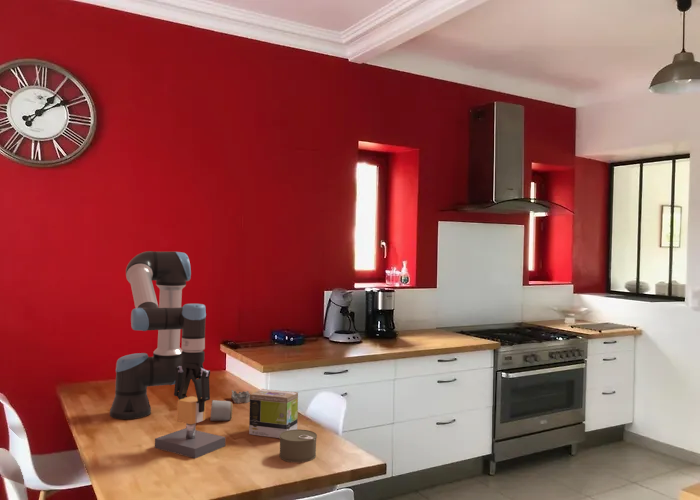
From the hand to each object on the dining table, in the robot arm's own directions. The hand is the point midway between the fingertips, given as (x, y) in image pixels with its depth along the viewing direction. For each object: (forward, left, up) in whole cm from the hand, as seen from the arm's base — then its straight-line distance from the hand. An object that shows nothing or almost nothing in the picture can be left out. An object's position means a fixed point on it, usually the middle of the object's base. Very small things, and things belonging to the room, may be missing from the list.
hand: (191, 419), depth 191 cm
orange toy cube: (0, 0, 0) cm, 0 cm away
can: (+34, +13, -9) cm, 38 cm away
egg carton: (-26, +57, -10) cm, 63 cm away
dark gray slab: (0, 0, -9) cm, 9 cm away
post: (0, 0, -6) cm, 6 cm away
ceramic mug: (-14, +30, -9) cm, 34 cm away
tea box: (+14, +27, -9) cm, 32 cm away
